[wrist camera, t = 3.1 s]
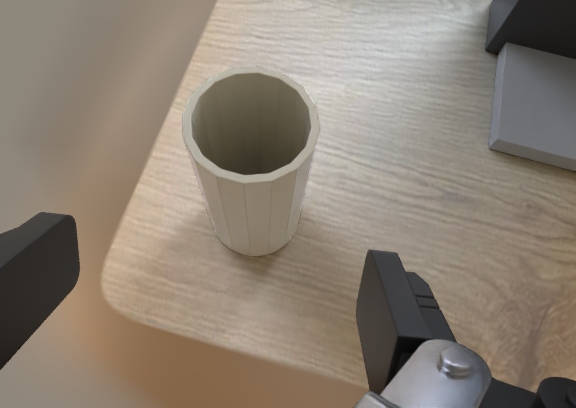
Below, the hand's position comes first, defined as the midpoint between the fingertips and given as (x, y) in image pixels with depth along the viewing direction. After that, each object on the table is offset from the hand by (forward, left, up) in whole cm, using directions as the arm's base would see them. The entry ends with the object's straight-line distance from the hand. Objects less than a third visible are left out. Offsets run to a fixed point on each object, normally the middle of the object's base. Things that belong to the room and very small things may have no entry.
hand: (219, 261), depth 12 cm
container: (-1, +6, -13) cm, 14 cm away
